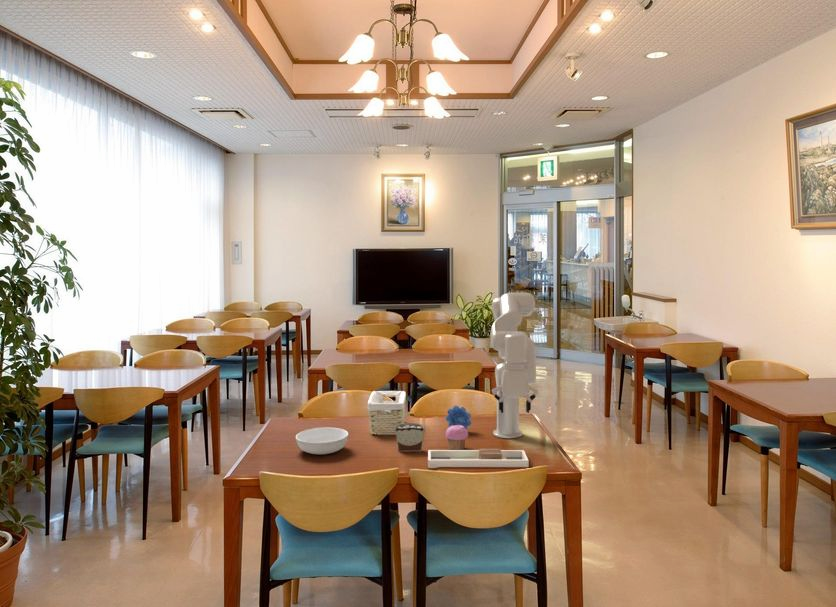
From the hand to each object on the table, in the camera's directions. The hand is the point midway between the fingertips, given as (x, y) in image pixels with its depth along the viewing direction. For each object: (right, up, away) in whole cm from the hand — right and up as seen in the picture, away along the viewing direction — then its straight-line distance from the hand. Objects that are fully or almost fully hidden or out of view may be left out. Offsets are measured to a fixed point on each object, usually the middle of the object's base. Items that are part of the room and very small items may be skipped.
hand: (514, 412), depth 241 cm
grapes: (-18, -16, +42) cm, 48 cm away
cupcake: (-21, -18, +18) cm, 33 cm away
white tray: (-14, -20, +2) cm, 24 cm away
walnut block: (-9, -19, +2) cm, 21 cm away
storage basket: (-50, -16, +49) cm, 72 cm away
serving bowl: (-75, -19, +17) cm, 79 cm away
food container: (-40, -18, +19) cm, 48 cm away
